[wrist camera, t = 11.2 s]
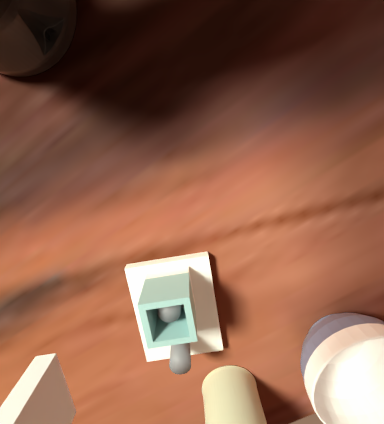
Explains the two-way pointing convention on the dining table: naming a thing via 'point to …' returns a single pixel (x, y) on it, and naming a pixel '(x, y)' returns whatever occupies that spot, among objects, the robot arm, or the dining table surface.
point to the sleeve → (164, 297)
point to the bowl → (345, 368)
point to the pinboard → (204, 308)
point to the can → (231, 397)
